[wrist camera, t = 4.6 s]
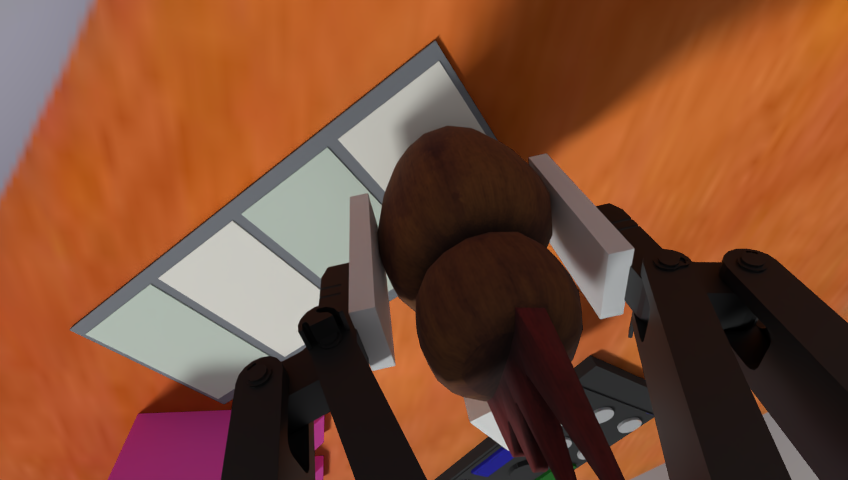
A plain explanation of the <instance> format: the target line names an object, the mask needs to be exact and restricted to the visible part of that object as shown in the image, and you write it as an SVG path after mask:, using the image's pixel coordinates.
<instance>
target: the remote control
mask: <svg viewBox="0 0 848 480" xmlns="http://www.w3.org/2000/svg"><path fill="white" fill-rule="evenodd" d="M574 370H575V372H576V374H577V376H578V378H579V381H580V383H581V385H582V387H583V389H584V392H585V394H586V396H587V398H588V400H589V403H590V405H591V407H592V409H593V411H594V413H595V416H596V418H597V420H598V422H599V424H600V427H601V429H602V431H603V433H604V435H605V437H606V440H607V442H608V444H609V446H611V445H613V444H614V443H616V442H617V441H619V440H620V439H622V438H623V437H625V436H626V435H628V434H629V433H631V432H632V431H634V430H636V429H637V428H639V427H640V426H642V425H643V424H645V423H646V422H648V421H649V420H651V419H652V418H654V413H653V409H652V405H651V401H650V397H649V392H648V388H647V384H646V380H644V379H642V378H640V377H638V376H635V375H633V374H631V373H629V372H627V371H624V370H622V369H620V368H618V367H615V366H613V365H611V364H609V363H606V362H604V361H602V360H600V359H597V358H595V357H593V356H591V355H590V356H589V357H587V358H586V359H585V360H584V361H582V362H581V363H580V364H579V365H577V366H576V367H575V368H574ZM562 429H563V433H564V436H565V440H566V443H567V447H568V450H569V454H570V457H571V461H572V464H573V468H574V470H575V469H576V468H578V467H579V466H581V465H582V464H584V463H585V462H587V461H586V459H585V458H584V456H583V455H582V453H581V452H580V451H579V449H578V448H577V446H576V445H575V443H574V442H573V440H572V439H571V438H570V436H569V435H568V433H567V432H566V430H565V429H564V427H563V426H562ZM435 480H556V479H555V477H554V475H553V474H552V472H551V470H550V468H549V466H548V470H547V472H538V473H533V472H532V470H531V468H530V466H529V463H528V461H527V459H526V457H525V456H524V457H512V455H511V453H510V451H508V450H507V449H505V448H504V447H502V446H501V445H500V444H498V443H497V442H496V441H494V440H493V439H492V438H490V437H487V438H486V439H485V440H484V441H482V442H481V443H480V444H479V445H477V446H476V447H475V448H474V449H472V450H471V451H470V452H469V453H467V454H466V455H465V456H464V457H462V458H461V459H460V460H459V461H457V462H456V463H455V464H454V465H452V466H451V467H450V468H449V469H447V470H446V471H445V472H444V473H442V474H441V475H440V476H439V477H437V478H436V479H435Z"/></svg>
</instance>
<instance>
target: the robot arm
mask: <svg viewBox="0 0 848 480" xmlns="http://www.w3.org/2000/svg"><path fill="white" fill-rule="evenodd" d="M529 165H530V166H531V168H532V169H533V170H534V171H535V172H536V173H537V174H538V175H539V177H540V178H541V179H542V181H543V183H544V185H545V186H546V188H547V190H548V191H549V193H550V202H551V213H552V237H551V239H550V244H551V245H552V247H553V248H554V250H555V251H556V253H557V254H558V256H559V257H560V259H561V261H562V262H563V264H564V265H565V267H566V268H567V270H568V271H569V273H570V274H571V276H572V277H573V279H574V280H575V282H576V283H577V285H578V286H579V288H580V289H581V291H582V292H583V294H584V295H585V297H586V299H587V300H588V302H589V303H590V305H591V306H592V308H593V309H594V311H595V312H596V314H597V315H598V317H599V318H600V319H603V318H608V317H612V316H617V315H621V314H623V311H624V306H625V301H626V303H627V304H628V305H629V307H630V308H631V309H632V311H633V312H632V317H631V322H630V327H629V334H628V338H632V336H633V331H634V334H635V339H636V343H637V347H638V351H639V355H640V359H641V363H642V368H643V372H644V376H645V380H646V384H647V388H648V392H649V397H650V401H651V405H652V409H653V413H654V417H655V421H656V426H657V430H658V434H659V438H660V442H661V446H662V450H663V455H664V459H665V463H666V467H667V471H668V475H669V479H670V480H791V478H790V475H789V473H788V471H787V469H786V467H785V464H784V462H783V460H782V458H781V456H780V453H779V451H778V449H777V447H776V445H775V442H774V440H773V438H772V436H771V433H770V431H769V429H768V427H767V425H766V422H765V420H764V418H763V416H762V414H761V411H760V409H759V407H758V405H757V403H756V400H755V398H754V396H753V394H752V392H751V390H752V391H753V393H754V394H755V395H756V397H757V398H758V399H759V400H760V402H761V403H762V404H763V406H764V407H765V408H766V410H767V411H768V412H769V413H770V415H771V416H772V418H773V419H774V420H775V421H776V423H777V424H778V425H779V427H780V428H781V430H782V431H783V432H784V433H785V435H786V436H787V437H788V439H789V440H790V441H791V443H792V444H793V445H794V446H795V448H796V449H797V450H798V452H799V453H800V454H801V456H802V457H803V459H804V460H805V461H806V462H807V464H808V465H809V466H810V468H811V469H812V470H813V472H814V473H815V474H816V476H817V477H818V478H819V480H848V323H847V322H846V321H845V320H844V319H843V318H842V317H840V316H839V315H838V314H837V313H836V312H835V311H834V310H832V309H831V308H830V307H829V306H828V305H827V304H826V303H825V302H823V301H822V300H821V299H820V298H819V297H818V296H817V295H815V294H814V293H813V292H812V291H811V290H810V289H809V288H807V287H806V286H805V285H804V284H803V283H802V282H801V281H800V280H798V279H797V278H796V277H795V276H794V275H793V274H792V273H790V272H789V271H788V270H787V269H786V268H785V267H784V266H783V265H781V264H780V263H779V262H778V261H777V260H776V259H774V258H773V257H771V256H769V255H768V254H765V253H763V252H760V251H757V250H751V249H734V250H731V251H728V252H727V253H726V254H725V255H724V257H723V260H722V262H692V261H691V260H690V259H689V257H687V256H685V255H684V254H682V253H680V252H677V251H674V250H667V249H662V248H661V247H660V246H659V245H658V244H657V243H656V242H655V241H654V240H653V239H652V238H651V237H650V236H649V235H648V234H647V233H646V232H645V231H644V230H643V229H642V228H641V227H640V226H639V227H638V224H637V223H636V222H635V221H634V220H631V217H630V216H629V215H628V214H627V213H626V212H625V211H624V210H623V209H621V208H618V207H616V206H614V205H612V204H610V203H608V204H604V205H600V206H595V205H594V204H593V203H592V202H591V201H590V200H589V199H588V198H587V197H586V195H585V194H584V193H583V192H582V191H581V190H580V189H579V188H578V187H577V186H576V185H575V184H574V182H573V181H572V180H571V179H570V178H569V177H568V176H567V175H566V174H565V173H564V172H563V171H562V169H561V168H560V167H559V166H558V165H557V164H556V163H555V162H554V161H553V160H552V159H551V158H550V156H549V155H548V154H547V153H546V154H541V155H537V156H532V157H529ZM377 232H378V225H377V222H376V218H375V215H374V212H373V208H372V205H371V201H370V198H369V195H368V193H365V194H361V195H356V196H352V197H350V231H349V263H344V264H340V265H336V266H331V267H328V268H327V269H326V271H325V273H324V274H323V276H322V277H321V286H320V289H321V290H320V296H319V297H320V299H319V306H316V307H314V308H312V309H311V310H309V311H307V312H306V313H305V314H304V315H303V317H302V318H301V319H300V321H299V324H298V333H299V334H300V336H301V338H302V340H303V342H304V344H305V345H306V348H304V349H303V350H302V351H300V352H299V353H297V354H295V355H293V356H292V357H290V358H288V359H286V360H284V361H282V362H281V361H280V360H279V359H278V358H276V357H272V356H266V357H261V358H258V359H256V360H254V361H252V362H251V363H250V364H248V365H247V366H246V367H244V369H243V370H242V371H241V373H240V374H239V375H238V378H237V381H236V383H235V390H234V396H233V403H232V410H231V416H230V423H229V429H228V436H227V442H226V449H225V455H224V462H223V468H222V475H221V480H315V446H314V420H316V419H318V418H320V417H322V416H323V415H325V414H327V413H329V412H330V411H331V414H332V417H333V420H334V422H335V425H336V428H337V431H338V433H339V436H340V439H341V442H342V444H343V447H344V450H345V453H346V455H347V458H348V461H349V464H350V466H351V469H352V472H353V474H354V477H355V480H427V479H426V477H425V475H424V473H423V471H422V469H421V467H420V465H419V463H418V461H417V459H416V457H415V455H414V453H413V451H412V449H411V447H410V445H409V443H408V441H407V439H406V437H405V435H404V433H403V431H402V429H401V428H400V426H399V424H398V422H397V420H396V418H395V416H394V414H393V412H392V410H391V408H390V406H389V404H388V402H387V400H386V398H385V396H384V394H383V392H382V390H381V388H380V386H379V384H378V382H377V380H376V378H375V376H374V375H373V373H372V371H374V370H379V369H383V368H387V367H392V366H395V356H394V346H393V337H392V327H391V317H390V307H389V297H388V287H387V277H386V271H385V269H384V267H383V264H382V261H381V257H380V253H379V245H378V233H377ZM369 364H370V367H371V369H372V371H371V369H370V367H369Z"/></svg>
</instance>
